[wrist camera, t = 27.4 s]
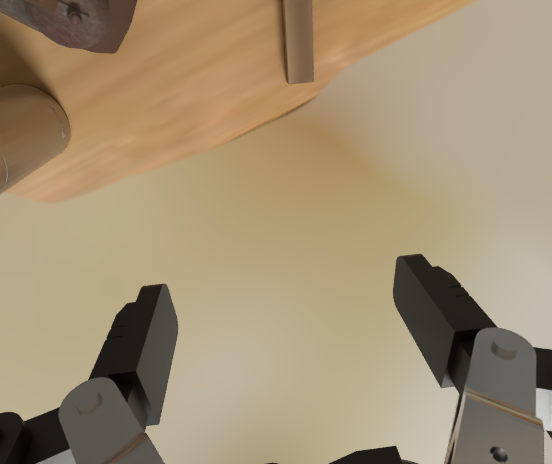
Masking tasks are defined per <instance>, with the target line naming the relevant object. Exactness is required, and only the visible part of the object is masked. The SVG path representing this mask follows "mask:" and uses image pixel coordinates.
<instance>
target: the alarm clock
mask: <svg viewBox="0 0 552 464" xmlns="http://www.w3.org/2000/svg"><path fill="white" fill-rule="evenodd" d="M136 3H137V0H0V11H1V12H2V13H4V14H6V15H8V16H10V17H12V18H13V19H15V20H17V21H19V22H21V23H23V24H25V25H27V26H29V27H31V28H33V29H35V30H37V31H39V32H41V33H43V34H44V35H45V36H46V37H48V38H50V39H51V40H53V41H54V42H56V43H57V44H60V45H63V46H66V47H69V48H77V49H84V50H87V51H91V52H96V53H116V52H117V50H118V48H119V47H120V45H121V43H122V41H123V39H124V37H125V35H126V33H127V31H128V29H129V27H130V24H131V22H132V18H133V14H134V10H135V6H136Z"/></svg>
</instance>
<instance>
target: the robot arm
mask: <svg viewBox="0 0 552 464" xmlns="http://www.w3.org/2000/svg"><path fill="white" fill-rule="evenodd" d="M69 139H70V126H69V122H68V119H67V117H66V115H65V113H64V111H63V110H62V108H61V107H60V105H59V104H58V103H57V102H56V101H55V100H54V99H53V98H52V97H50V96H49V95H48V94H46V93H45V92H43V91H41V90H39V89H37V88H35V87H32V86H29V85H23V84H13V85H7V86H3V87H0V194H2V193H3V192H5V191H6V190H8V189H9V188H11V187H12V186H14V185H15V184H17V183H18V182H19V181H21V180H22V179H24V178H25V177H27V176H28V175H30V174H31V173H33V172H34V171H35V170H37V169H38V168H40V167H41V166H43V165H44V164H46V163H47V162H49V161H50V160H52V159H53V158H54V157H56V156H57V155H59V154H60V153H62V152H63V150H64V149H65V148H66V147H67V145H68V143H69ZM393 298H394V302H395V305H396V308H397V310H398V312H399V313H400V315H401V317H402V319H403V320H404V322H405V324H406V326H407V327H408V330H409V331H410V333H411V335H412V336H413V338H414V340H415V342H416V344H417V346H418V347H419V349H420V351H421V352H422V355H423V356H424V358H425V360H426V362H427V364H428V365H429V367H430V369H431V371H432V372H433V374H434V376H435V378H436V380H437V381H438V383H439V385H440V387H441V388H446V387H454V386H455V387H456V389H457V390H458V392H459V397H458V400H457V405H456V410H455V415H454V420H453V425H452V430H451V435H450V439H449V444H448V448H447V453H446V457H445V462H444V464H544V430H546V431H547V432H548V434H549V435H550V437H551V438H552V350H550V349H542V348H536V347H532V345H531V344H530V343H529V342H528V341H527V340H526V339H524V338H523V337H522V336H520V335H518V334H516V333H514V332H512V331H509V330H506V329H502V328H498V327H497V326H496V325H495V324H494V323H493V322H492V320H491V319H490V318H489V317H488V316H487V315H486V313H485V312H484V311H483V310H482V309H481V308H480V306H479V305H478V304H477V303H476V302H475V301H474V299H473V298H472V297H471V296H469V294H468V292H467V291H466V290H465V289H464V288H463V287H461V284H460V283H459V282H458V281H457V280H456V279H455V277H454V276H453V275H452V274H450V273H449V272H447V271H445V270H444V269H442V268H441V267H439V266H436V267H432V266H431V265H430V264H429V262H428V261H427V260H426V258H425V257H424V256H423V255H422V254H414V255H406V256H399V257H398V258H397V260H396V269H395V278H394V287H393ZM177 335H178V321H177V316H176V313H175V309H174V306H173V303H172V299H171V296H170V293H169V290H168V287H167V285H166V284H158V285H150V286H143V287H142V288H141V290H140V292H139V295H138V298H137V300H136V302H132V303H127V304H126V305H125V306H124V307H123V309H122V310H121V311H120V312H119V313H118V314H117V315H116V317H115V319H114V322H113V324H112V327H111V330H110V331H109V333H108V336H107V340H106V341H105V342H104V345H103V347H102V349H101V352H100V354H99V356H98V358H97V361H96V363H95V365H94V368H93V370H92V373H91V375H90V377H89V379H88V381H85V382H83V383H81V384H80V385H78V386H77V387H75V389H73V390H72V391H71V392H70V393H69V394H68V395H67V396H66V397H65V399H64V400H63V402H62V403H61V406H60V407H59V408H57V409H54V410H52V411H49V412H47V413H44V414H42V415H39V416H37V417H34V418H32V419H29V420H27V421H23V420H22V419H21V417H20V416H19V415H18V414H16V413H13V412H4V413H0V464H165V463H164V462H163V460H162V458H161V457H160V455H159V453H158V452H157V450H156V448H155V447H154V445H153V443H152V442H151V440H150V438H149V437H148V435H147V434H146V433H145V429H146V426H149V425H158V424H159V422H160V417H161V412H162V407H163V403H164V398H165V393H166V388H167V383H168V379H169V374H170V369H171V364H172V359H173V355H174V350H175V345H176V340H177ZM268 464H277V463H268ZM329 464H418V463H415V462H411V461H407V460H402V459H401V458H400V455H399V452H398V450H397V447H396V446H392V447H385V448H377V449H369V450H362V451H356V452H354V453H351V454H349V455H347V456H345V457H342V458H340V459H338V460H336V461H334V462H332V463H329Z"/></svg>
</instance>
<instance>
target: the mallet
mask: <svg viewBox="0 0 552 464" xmlns="http://www.w3.org/2000/svg"><path fill="white" fill-rule="evenodd" d="M282 16H283V34H284V52H285V69H286V82H287V83H288V84H298V83H308V82H314V66H313V15H312V0H282Z"/></svg>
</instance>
